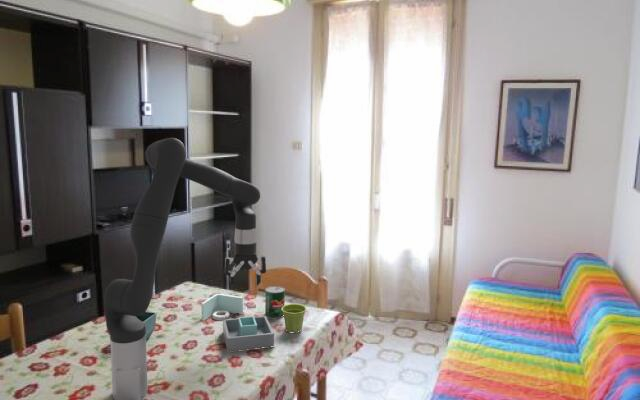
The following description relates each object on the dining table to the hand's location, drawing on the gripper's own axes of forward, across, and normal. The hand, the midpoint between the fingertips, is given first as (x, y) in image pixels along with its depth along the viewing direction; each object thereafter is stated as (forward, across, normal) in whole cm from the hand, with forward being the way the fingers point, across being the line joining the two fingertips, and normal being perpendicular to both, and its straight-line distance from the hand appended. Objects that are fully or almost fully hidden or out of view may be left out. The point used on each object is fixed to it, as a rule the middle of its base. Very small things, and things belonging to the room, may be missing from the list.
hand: (245, 285), depth 163 cm
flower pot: (+21, -36, +9) cm, 43 cm away
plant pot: (+21, +19, +4) cm, 28 cm away
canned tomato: (+20, +15, +20) cm, 32 cm away
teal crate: (+19, +1, 0) cm, 19 cm away
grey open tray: (+20, +1, 0) cm, 20 cm away
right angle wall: (+21, -6, +23) cm, 32 cm away
